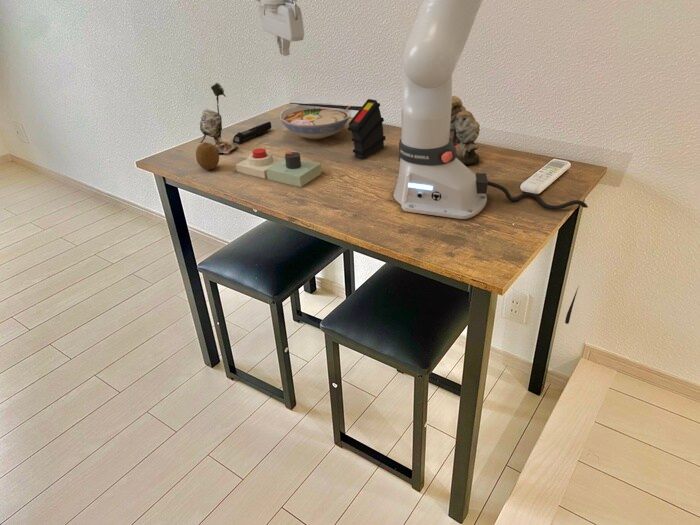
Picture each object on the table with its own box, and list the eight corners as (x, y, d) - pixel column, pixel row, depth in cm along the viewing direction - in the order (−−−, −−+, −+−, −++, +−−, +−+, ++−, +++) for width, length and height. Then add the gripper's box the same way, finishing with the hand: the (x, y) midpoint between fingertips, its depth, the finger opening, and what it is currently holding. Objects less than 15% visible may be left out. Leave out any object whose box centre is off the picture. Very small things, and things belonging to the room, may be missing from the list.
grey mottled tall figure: (214, 143, 165) (202, 78, 154) (241, 149, 160) (231, 82, 149) (195, 152, 159) (181, 85, 148) (223, 158, 154) (211, 89, 143)
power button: (269, 155, 145) (268, 149, 144) (260, 160, 142) (260, 154, 141) (259, 153, 146) (258, 147, 145) (250, 157, 144) (249, 151, 143)
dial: (304, 164, 140) (302, 152, 138) (295, 170, 137) (294, 157, 135) (291, 162, 142) (290, 149, 140) (283, 167, 139) (281, 155, 137)
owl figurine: (410, 158, 149) (412, 98, 139) (428, 145, 157) (430, 87, 147) (470, 170, 140) (476, 107, 131) (485, 155, 149) (492, 95, 139)
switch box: (286, 166, 147) (284, 152, 145) (264, 178, 141) (262, 164, 138) (258, 160, 152) (257, 146, 150) (236, 171, 145) (234, 158, 143)
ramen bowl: (265, 143, 163) (261, 118, 158) (299, 121, 180) (296, 97, 176) (338, 153, 154) (337, 126, 150) (366, 128, 171) (365, 103, 167)
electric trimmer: (275, 131, 173) (274, 122, 171) (240, 145, 162) (239, 135, 161) (266, 129, 175) (265, 120, 173) (232, 143, 164) (230, 133, 163)
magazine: (391, 139, 157) (378, 99, 146) (368, 170, 153) (353, 131, 141) (381, 137, 159) (367, 97, 148) (358, 167, 155) (342, 129, 143)
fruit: (196, 168, 148) (190, 141, 144) (218, 163, 151) (213, 136, 146) (202, 175, 144) (196, 148, 139) (224, 170, 146) (219, 143, 142)
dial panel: (321, 173, 142) (320, 163, 140) (300, 187, 135) (299, 176, 133) (289, 166, 147) (287, 156, 145) (267, 179, 140) (266, 168, 138)
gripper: (308, -3, 120) (312, 60, 128) (275, -10, 135) (281, 46, 143) (282, 0, 118) (288, 63, 125) (252, -8, 133) (259, 49, 141)
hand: (284, 54), depth 134 cm, fingers closed
